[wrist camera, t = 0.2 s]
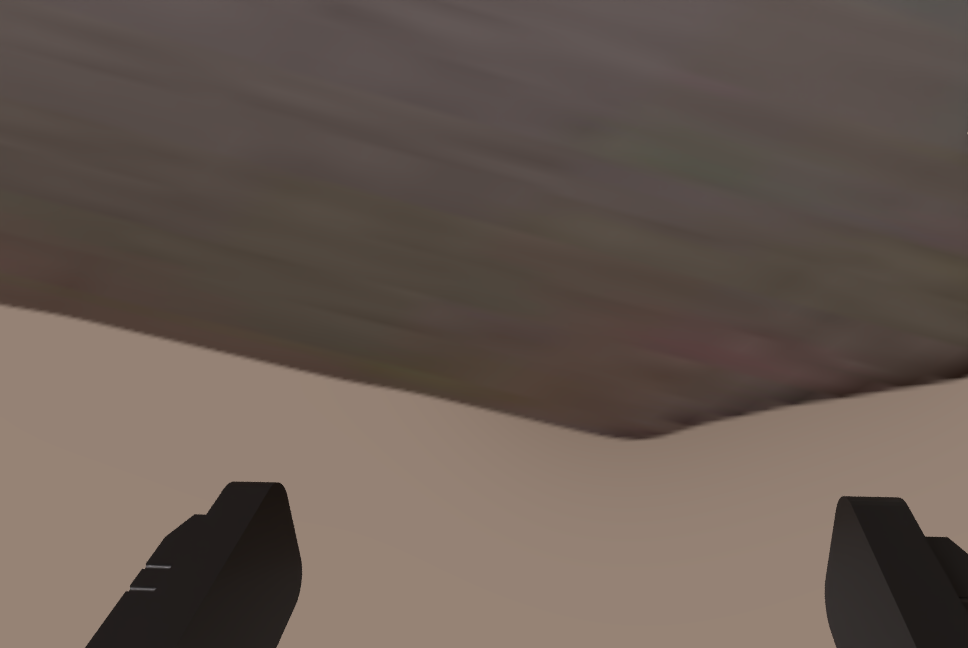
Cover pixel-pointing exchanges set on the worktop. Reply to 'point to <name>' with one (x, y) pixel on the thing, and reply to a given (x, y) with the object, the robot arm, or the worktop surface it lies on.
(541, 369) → the worktop surface
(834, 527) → the robot arm
